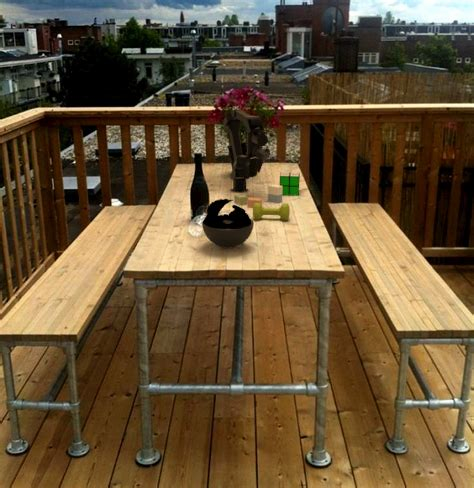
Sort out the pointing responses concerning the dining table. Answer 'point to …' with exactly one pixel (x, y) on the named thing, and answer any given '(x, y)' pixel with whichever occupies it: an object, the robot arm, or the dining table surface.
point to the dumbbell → (271, 211)
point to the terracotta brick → (254, 201)
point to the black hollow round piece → (227, 225)
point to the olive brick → (240, 199)
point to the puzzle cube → (290, 183)
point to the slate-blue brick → (274, 198)
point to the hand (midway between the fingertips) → (252, 174)
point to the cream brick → (275, 189)
